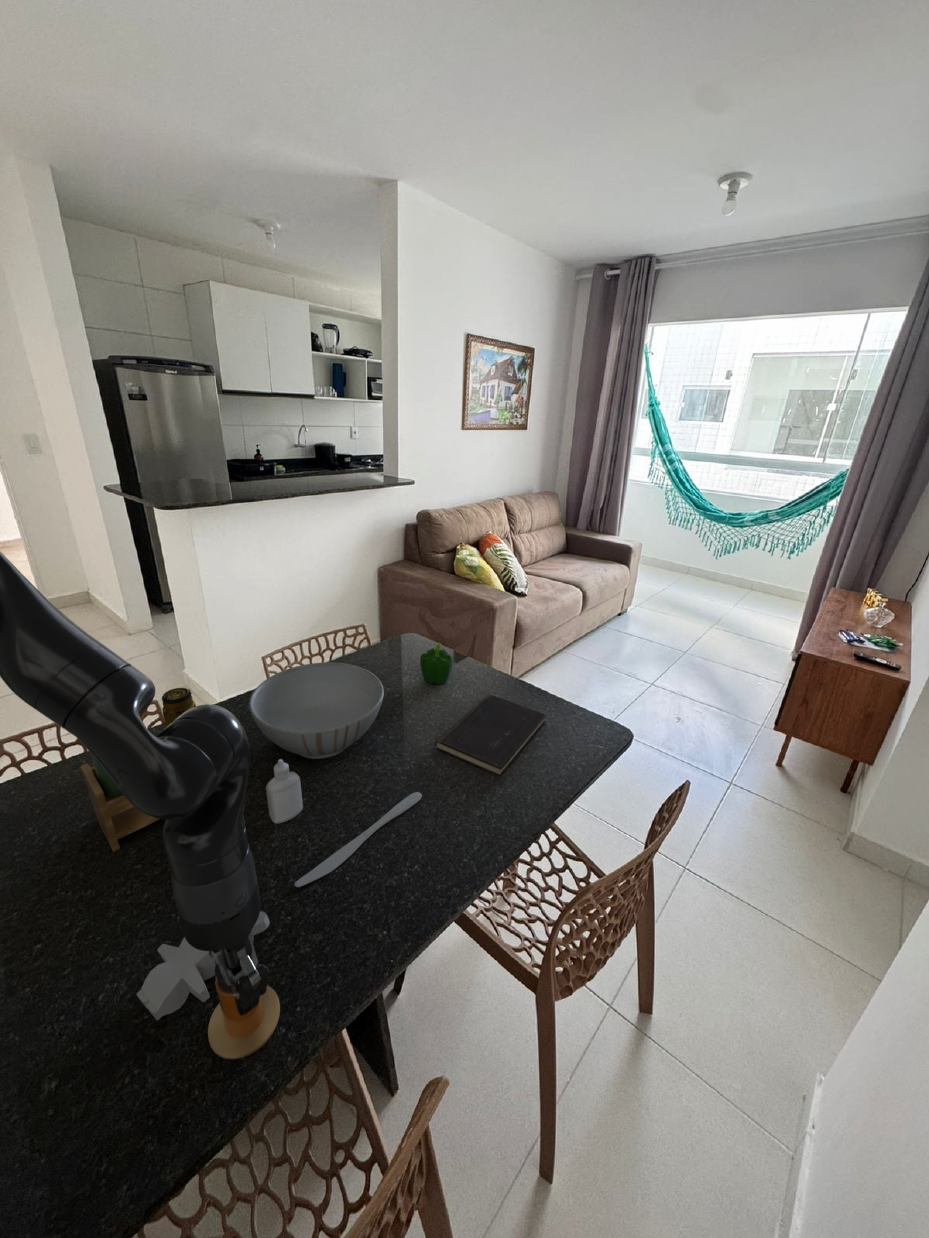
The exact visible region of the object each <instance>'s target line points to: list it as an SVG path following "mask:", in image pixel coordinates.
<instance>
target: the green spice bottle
mask: <svg viewBox="0 0 929 1238" xmlns="http://www.w3.org/2000/svg"><path fill="white" fill-rule="evenodd" d="M90 757H91V761H92V764H93V766H94V767H95V771H96V774H97V777H98V780H99V784H100V787H101V789H102V791H103V793H104V797H106V798H117V797H120V796H123V794H122V792H121V791H120V790H119V788H118V787H117V786H116V784H115V783H114V782H113V780H112V779H111V778H110V776H109V775H108V774H107V772H106V771H105V770H104V769H103V767H102V766H101V765H100V764H99V763H98V761H97V760H96V759H95V758H94V757H93V756H92V754H91V753H90Z"/></svg>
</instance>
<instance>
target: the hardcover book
mask: <svg viewBox="0 0 929 1238" xmlns="http://www.w3.org/2000/svg"><path fill="white" fill-rule="evenodd" d="M546 717H547V714H545V713H542V712H540V711H537V710H534V709H531V708H528V707H526V706H523V705H520V704H518V703H516V702H512V701H509V700H507V699H504V698H501V697H499V696H496V695H493V694H490V693H489V694H487V695H486V696H485V697H483V698H482V699H481V700H480V701H479V702H478V703H477V704H476V705H474V707H472V708H471V709H470V710H469V711H468V712H467V713H466V714H465V715H463V716H462V717H461V718H460V719H459V720H458V721H457V722H456V723H455V724H453V725H452V726H451V727H450V729H448V730H447V731H446V732H445V733H444V734H443V735H442V736H441V737H439V738H438V739H437V740H436V741H435V749H436V750H437V751H440V752H442V753H444V754H446V755H447V756H450V757H453V758H454V759H455V758H456V759H458V760H460V761H462V762H464V763H466V764H469V765H471V766H474V767H475V768H478V769H480V770H483V771H484V772H487V773H489V774H492V775H494V776H496V777H498V778H501V777H502V776H503V775H504V774H505V773H506V772H507V770H508V769H509V768H510V766H511V765H512V764H513V763H514V761H516V759H517V758H518V757H519V756H520V755H521V753H522V752H523V751H524V750H525V748H526V747H527V746H528V745H529V744H530V742H531V741H532V740H533V738H534V737H535V736H536V735H537V734H538V733H539V731H540V730H541V729H542V728H543V726H544V725H545V724H546V721H545V718H546Z"/></svg>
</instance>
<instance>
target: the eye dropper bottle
mask: <svg viewBox="0 0 929 1238" xmlns="http://www.w3.org/2000/svg"><path fill="white" fill-rule="evenodd" d="M273 774H274V777H273V778H271V779H270V780H269V782H268V783H266V787H265V791H266V798H267V800H266V801H267V808H268V814H269V819H270V820H271V821H272V823H274V824H275V825H279V824H282V823H285V822H288V821H290V820H292V819H294V818H295V817H297V816H298V815H299V814H301V812H302V811H303V810H304V803H303V795H302V794H303V792H302V784H301V778H300V776H299V774H297V773H296V772H295V771H290V766H289V763H287V762H284V760H283V759H282V758H280V759H278V760H277V763H276V764H275V765H274V766H273Z"/></svg>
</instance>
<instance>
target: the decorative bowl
mask: <svg viewBox="0 0 929 1238" xmlns="http://www.w3.org/2000/svg"><path fill="white" fill-rule="evenodd" d="M384 693H385V689H384V685H383V683H382V681H381V680H380V678H379V677H378V676H377V675H376V674H374V673H372V672H371V671H369V670H367V669H365V668H363V667H361V666H358V665H354V664H349V663H343V662H331V661H329V662H315V663H314V662H313V663H306V664H301V665H297V666H294V667H293V666H292V667H289V668H287V669H284V670H281V671H279V672H277V673H275V674H273V675H271V676H269V677H268V678H266V679H265V680H263V681H262V682H261V683H260V684H259V685H258V686H257V687H256V688H255V689H254V690H253V691H252V693H251V695H250V698H249V701H248V702H249V703H248V707H249V711H250V715H251V716H252V719H253V721H254V722H255V724H256V725H257V727H258V728H259V730H260V731H261V733H263V735H264V736H265V737H266V738H267V739H269V740H270V741H271V742H272V743H273V744H274V745H276V746H278V747H279V748H281V749H283V750H285V751H287V752H289V753H293V754H296V755H299V756H300V757H303V758H306V759H312V760H315V759H316V760H320V759H326V758H331V757H334V756H336V755H339V754H340V753H342V752H344V751H345V750H346V749H347V748H349V747H350V746H352V745H353V744H355V743H356V742H357V741H358V740H360V739H361V738H362V737H363V736H364V735H365V734H366V733H367V732H368V730H369V729H370V728H371V726H372V725H373V723H374V722H375V720H376V718H377V716H378V714H379V712H380V710H381V707H382V704H383V699H384Z"/></svg>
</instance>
